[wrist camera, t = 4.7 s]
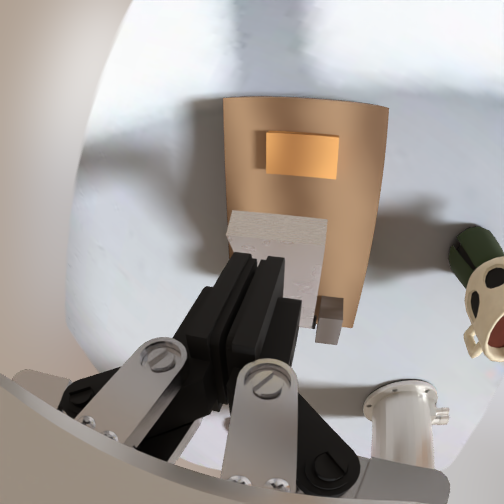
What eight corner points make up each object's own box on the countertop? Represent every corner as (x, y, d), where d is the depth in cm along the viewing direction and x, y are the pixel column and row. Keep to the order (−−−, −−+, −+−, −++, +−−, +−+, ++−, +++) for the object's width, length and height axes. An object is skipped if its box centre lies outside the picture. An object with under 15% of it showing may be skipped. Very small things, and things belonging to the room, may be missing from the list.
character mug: (475, 193, 24) (540, 259, 13) (515, 224, 24) (575, 294, 13) (422, 276, 30) (450, 366, 19) (464, 298, 30) (496, 382, 19)
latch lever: (334, 220, 12) (332, 246, 12) (316, 317, 27) (314, 330, 26) (225, 209, 13) (218, 234, 13) (266, 310, 28) (264, 323, 27)
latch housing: (376, 105, 23) (397, 110, 15) (351, 291, 33) (352, 350, 25) (244, 96, 26) (207, 99, 18) (247, 278, 36) (223, 331, 28)
